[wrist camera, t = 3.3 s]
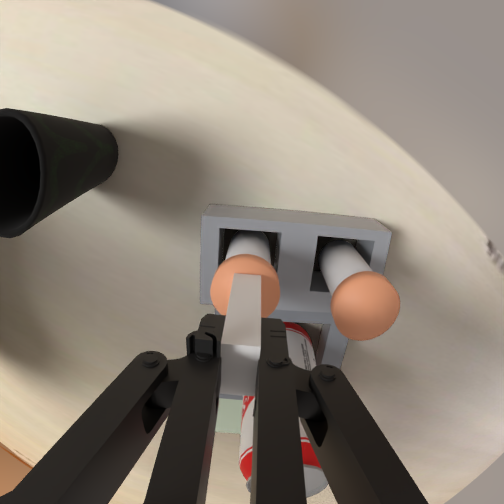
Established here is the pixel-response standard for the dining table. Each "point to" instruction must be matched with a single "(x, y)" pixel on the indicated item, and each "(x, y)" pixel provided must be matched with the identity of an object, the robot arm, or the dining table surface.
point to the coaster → (229, 416)
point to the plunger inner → (246, 271)
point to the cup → (48, 165)
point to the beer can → (313, 472)
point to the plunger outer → (357, 293)
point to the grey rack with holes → (294, 262)
